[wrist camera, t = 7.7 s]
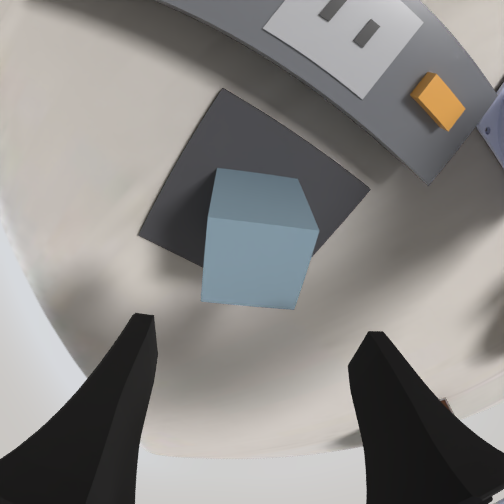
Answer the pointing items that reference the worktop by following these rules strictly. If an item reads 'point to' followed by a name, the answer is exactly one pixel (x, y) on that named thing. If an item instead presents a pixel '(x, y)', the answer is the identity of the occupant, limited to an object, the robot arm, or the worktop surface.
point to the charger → (257, 240)
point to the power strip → (368, 67)
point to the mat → (251, 160)
